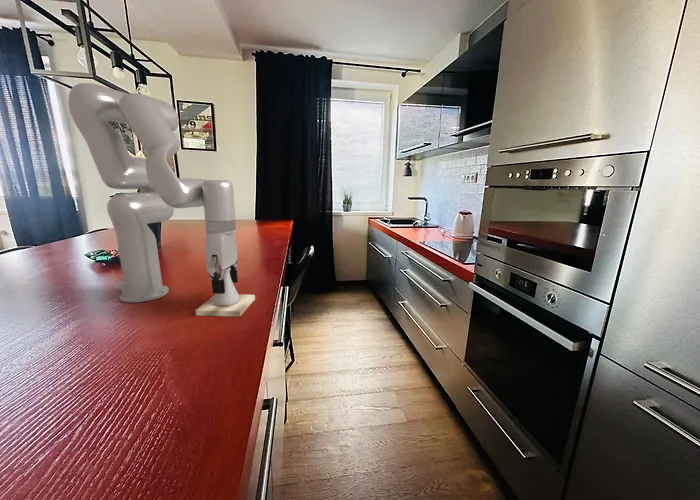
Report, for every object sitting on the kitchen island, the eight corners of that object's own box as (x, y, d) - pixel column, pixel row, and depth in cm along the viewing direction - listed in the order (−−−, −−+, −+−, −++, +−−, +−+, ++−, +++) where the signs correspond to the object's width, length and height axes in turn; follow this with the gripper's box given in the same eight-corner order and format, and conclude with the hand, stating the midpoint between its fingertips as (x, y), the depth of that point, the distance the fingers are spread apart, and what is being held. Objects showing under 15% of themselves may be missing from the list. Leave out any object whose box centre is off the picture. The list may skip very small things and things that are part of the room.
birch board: (195, 315, 79) (195, 310, 79) (216, 298, 91) (216, 293, 90) (240, 316, 79) (239, 311, 79) (255, 299, 91) (254, 294, 90)
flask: (230, 308, 80) (227, 273, 78) (207, 305, 82) (204, 271, 80) (245, 298, 87) (243, 266, 85) (223, 296, 89) (220, 264, 87)
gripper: (221, 222, 88) (226, 277, 92) (189, 231, 71) (196, 299, 75) (246, 222, 88) (249, 278, 92) (220, 232, 71) (225, 299, 75)
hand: (225, 287), depth 84 cm, fingers open, 8 cm apart
